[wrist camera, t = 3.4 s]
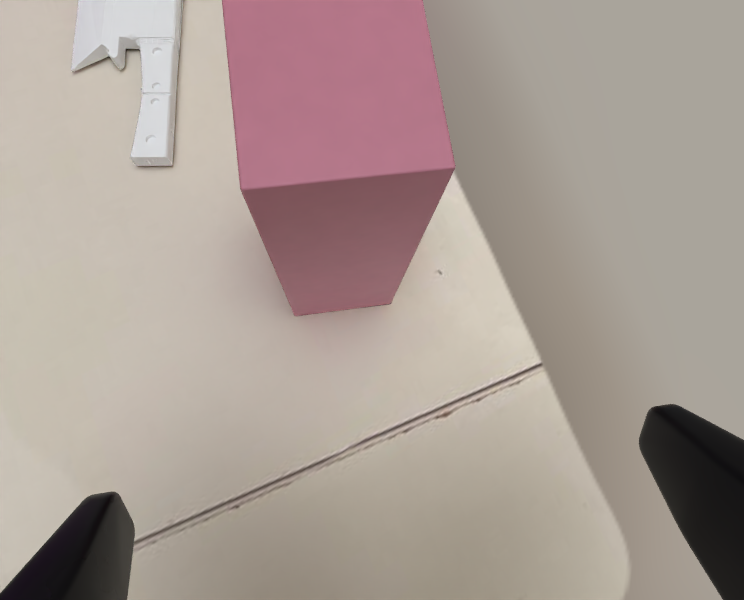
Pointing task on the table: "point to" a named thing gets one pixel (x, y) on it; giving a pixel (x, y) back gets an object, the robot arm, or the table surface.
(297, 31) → the pink box
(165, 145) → the butcher knife
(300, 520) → the table surface
